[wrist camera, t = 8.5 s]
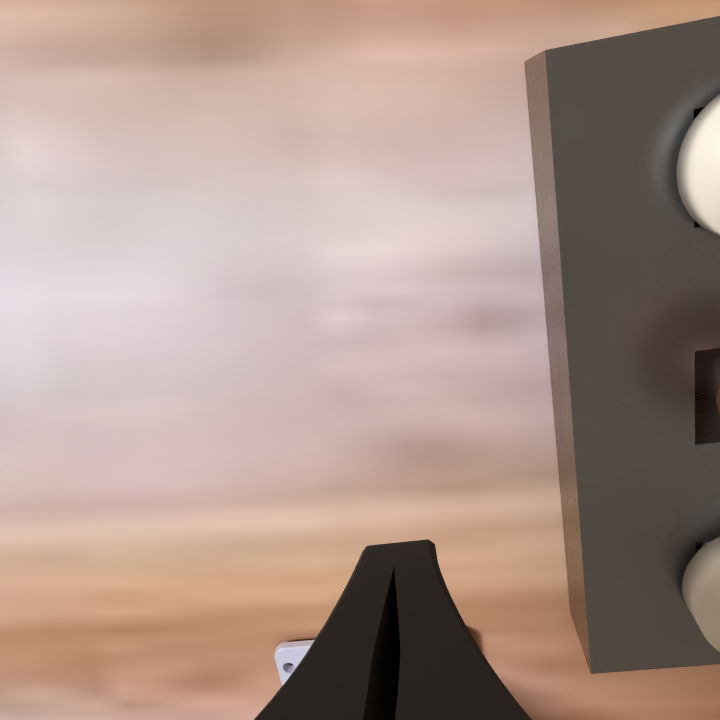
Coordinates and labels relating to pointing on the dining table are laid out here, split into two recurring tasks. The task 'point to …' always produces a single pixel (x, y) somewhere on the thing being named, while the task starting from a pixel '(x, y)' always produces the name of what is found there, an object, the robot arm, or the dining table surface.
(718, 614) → the knob
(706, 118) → the knob
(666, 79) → the knob plate
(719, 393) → the middle knob
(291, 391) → the dining table surface
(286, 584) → the dining table surface
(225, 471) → the dining table surface
